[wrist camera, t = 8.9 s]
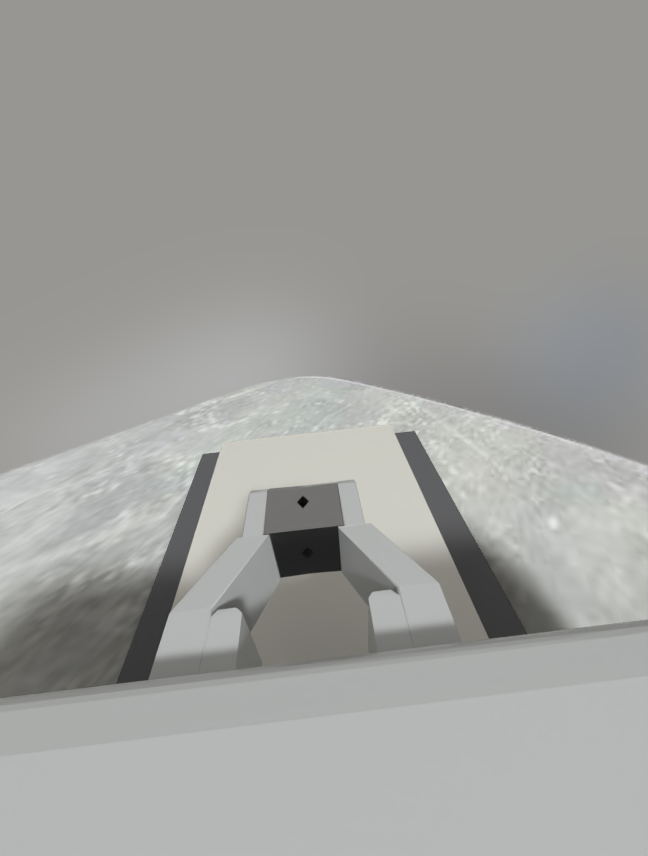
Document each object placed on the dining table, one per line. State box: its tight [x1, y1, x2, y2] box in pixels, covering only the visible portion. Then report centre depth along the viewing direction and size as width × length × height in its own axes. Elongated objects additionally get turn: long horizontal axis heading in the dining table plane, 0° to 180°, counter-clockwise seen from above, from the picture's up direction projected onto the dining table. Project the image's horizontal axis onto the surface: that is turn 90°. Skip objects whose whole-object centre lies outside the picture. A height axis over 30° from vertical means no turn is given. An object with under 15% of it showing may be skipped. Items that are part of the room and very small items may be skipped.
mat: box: [116, 431, 527, 684], centre depth 14 cm, size 18×14×1 cm
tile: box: [171, 424, 489, 666], centre depth 15 cm, size 2×10×12 cm
